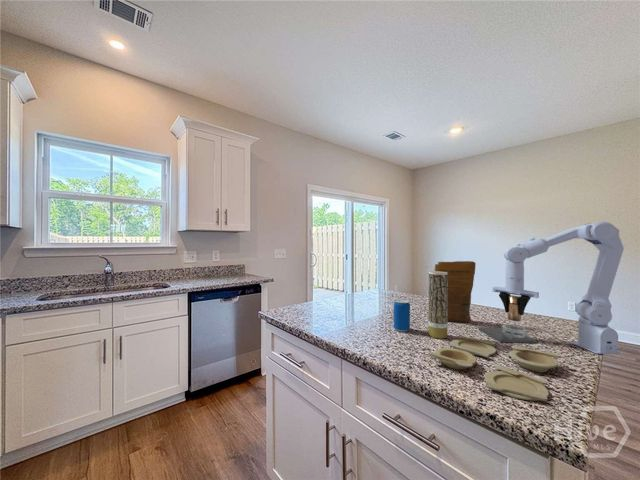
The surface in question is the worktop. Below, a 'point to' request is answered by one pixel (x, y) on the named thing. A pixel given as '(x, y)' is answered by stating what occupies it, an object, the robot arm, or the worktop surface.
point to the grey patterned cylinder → (438, 304)
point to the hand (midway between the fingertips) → (514, 313)
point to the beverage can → (401, 315)
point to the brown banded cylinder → (513, 308)
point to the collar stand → (508, 334)
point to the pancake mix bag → (458, 288)
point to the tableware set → (506, 378)
